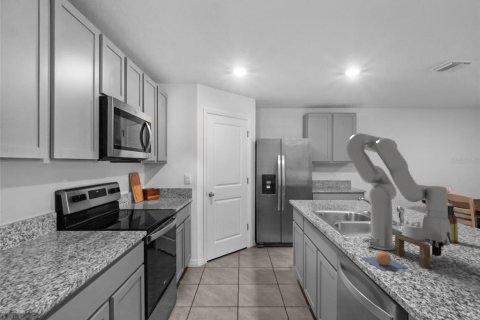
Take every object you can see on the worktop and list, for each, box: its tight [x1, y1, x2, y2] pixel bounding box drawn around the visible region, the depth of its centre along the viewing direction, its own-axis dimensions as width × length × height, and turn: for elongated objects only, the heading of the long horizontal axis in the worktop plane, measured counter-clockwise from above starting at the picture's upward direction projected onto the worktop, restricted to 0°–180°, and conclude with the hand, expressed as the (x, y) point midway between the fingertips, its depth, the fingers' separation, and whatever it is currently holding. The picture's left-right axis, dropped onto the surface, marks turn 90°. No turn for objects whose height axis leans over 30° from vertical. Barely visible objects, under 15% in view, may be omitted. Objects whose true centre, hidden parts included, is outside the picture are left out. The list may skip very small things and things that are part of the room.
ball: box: [375, 251, 392, 266], centre depth 100 cm, size 6×6×6 cm
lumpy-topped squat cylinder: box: [403, 220, 427, 241], centre depth 138 cm, size 10×13×9 cm
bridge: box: [394, 234, 431, 269], centre depth 105 cm, size 3×14×9 cm, turn 10°
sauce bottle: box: [447, 203, 459, 244], centre depth 130 cm, size 7×6×20 cm
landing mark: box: [361, 256, 408, 271], centre depth 103 cm, size 12×12×1 cm
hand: (436, 255), depth 107 cm, fingers closed
